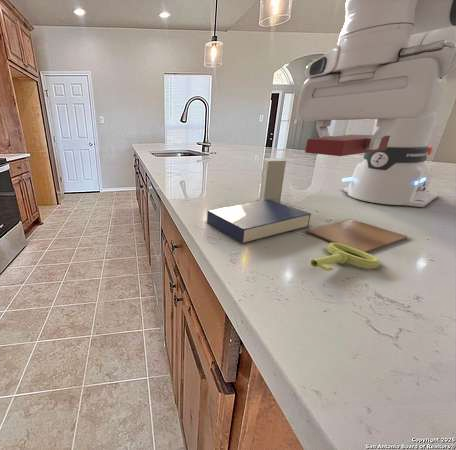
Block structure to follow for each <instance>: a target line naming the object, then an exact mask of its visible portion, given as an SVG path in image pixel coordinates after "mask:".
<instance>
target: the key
mask: <svg viewBox="0 0 456 450" xmlns="http://www.w3.org/2000/svg"><path fill="white" fill-rule="evenodd" d="M326 249H327V252H328V253H329V254H330V255H327V256H323V257H318V258H314V259H311V260H310V262H309V263H310V266H311V267H312V268H320V269H322V270H324V271H326V272H330V271H333V270H334V266H331V265H330V264H335V263H337V264H344V263H350V264H352V265H356V266H358V267H362V268H366V269H377V268H378V267H379V266H380V263H381V260H380V258H378V257H376V256H374V255H373V254H370V253H369V252H363V251H360V250H358V249H355V248H352V247H349V246H346V245H343V244H339V243H332V242H329V243H328V245H327V248H326Z"/></svg>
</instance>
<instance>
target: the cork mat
mask: <svg viewBox="0 0 456 450" xmlns="http://www.w3.org/2000/svg"><path fill="white" fill-rule="evenodd" d="M306 233H307V234H309V235H311V236H314V237H317V238H319V239H322V240H324V241H326V242H329V243H339V244H343V245H346V246H349V247H352V248H355V249H358V250H360V251H363V252H365V253H369V252H371V251H373V250H376V249H379V248H383V247H386V246H387V245H390V244H394V243H397V242H400V241H402V240H405V239H407V238H408V236H407V235H404V234H402V233H399V232H395V231H391V230H388V229H385V228H381V227H378V226H375V225H372V224H368V223H365V222H363V221H358V220H355V219H353V218H351V219H350V218H349V219H347V220H343V221H339V222H336V223H332V224H328V225H325V226H321V227H316V228H313V229H310V230H307V232H306Z"/></svg>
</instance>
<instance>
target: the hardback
mask: <svg viewBox="0 0 456 450" xmlns="http://www.w3.org/2000/svg"><path fill="white" fill-rule="evenodd" d="M206 216H207V217H206V223H207V224H208V225H210V226H212V227H214V228H216V229H217V230H218V231H220V232H222V233H224V234H225V235H227V236H228V237H230V238H232V239H234V240H235V241H237V242H239V243H240V244H246V243H250V242H254V241H257V240H261V239H265V238H269V237H272V236H277V235H280V234H284V233H287V232H291V231H292V232H293V231H296V230H299V229H303V228H307V227H309V223H310V221H311V216H312V213H310V212H307V211H304V210H301V209H298V208H295V207H292V206H288V205H286V204H283V203H281V202H280V203H277V202H274V201H271V200H268V199H267V200H261V201H259V200H257V201H252V202H251V201H250V202H246V203H241V204H235V205H231V206H225V207H220V208H215V209H209V210H207V214H206Z"/></svg>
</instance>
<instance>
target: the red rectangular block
mask: <svg viewBox="0 0 456 450" xmlns="http://www.w3.org/2000/svg"><path fill="white" fill-rule="evenodd" d="M332 136H333V137H323V138H320V137H314V138H313V137H312V138H307V140H306V145H305V150H304V153H306V154H314V155H323V156H324V155H325V156H332V157H333V156H335V157H346V156H351V155H360V154H365V153H367V152H374V151H381V150H386V148H387V144H388V141H389V138H390V136H384V137H383V138H382V139H381V142H380V145H379V148H378V149H374V150H371V149H363V145H364V141H365V138H371V137H372V136H373V135H372V134H344V135H343V134H342V135H332Z"/></svg>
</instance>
